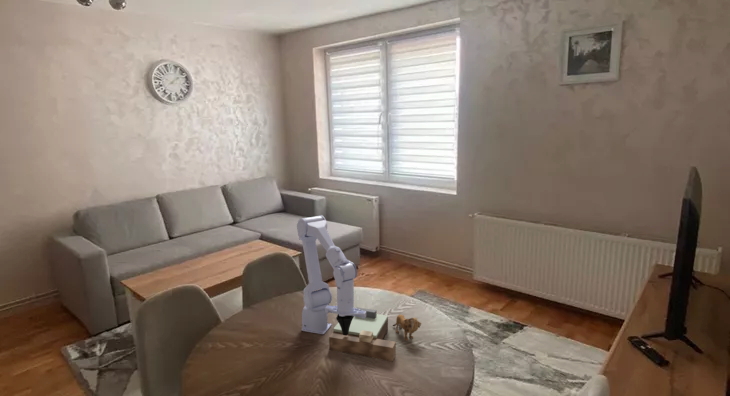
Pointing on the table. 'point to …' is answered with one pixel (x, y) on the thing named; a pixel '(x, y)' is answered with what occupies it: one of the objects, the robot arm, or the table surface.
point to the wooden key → (366, 336)
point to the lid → (365, 323)
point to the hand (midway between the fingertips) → (345, 333)
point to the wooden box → (364, 345)
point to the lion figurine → (407, 325)
